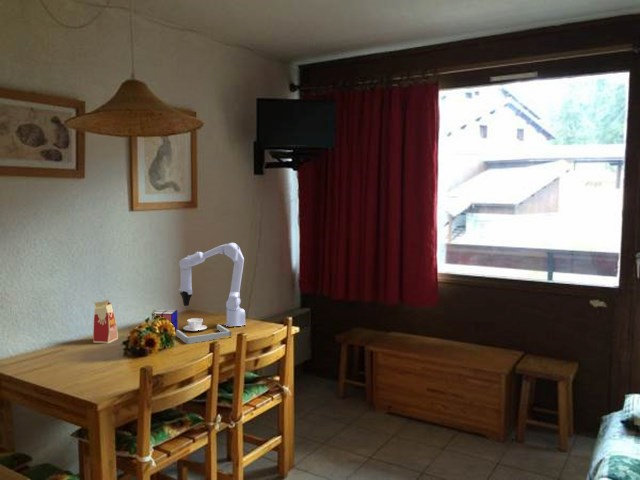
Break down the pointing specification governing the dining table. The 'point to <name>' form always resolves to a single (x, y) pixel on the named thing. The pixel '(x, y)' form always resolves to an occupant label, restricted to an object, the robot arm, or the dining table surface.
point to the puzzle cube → (168, 316)
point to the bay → (205, 337)
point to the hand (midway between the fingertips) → (186, 305)
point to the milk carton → (104, 323)
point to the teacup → (195, 324)
